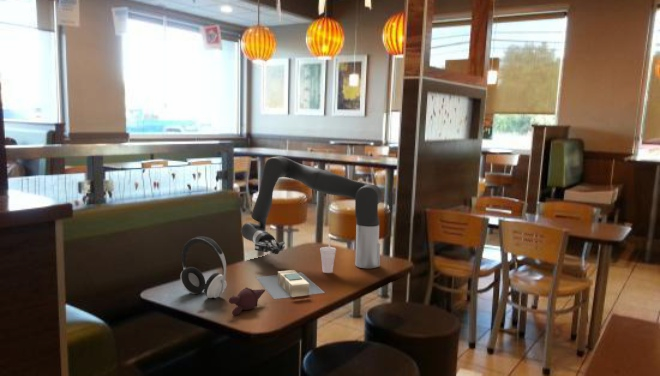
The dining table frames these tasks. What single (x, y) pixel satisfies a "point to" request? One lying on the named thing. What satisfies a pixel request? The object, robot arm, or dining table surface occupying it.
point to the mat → (279, 292)
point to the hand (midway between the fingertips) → (276, 251)
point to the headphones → (195, 279)
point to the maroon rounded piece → (245, 300)
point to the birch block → (293, 283)
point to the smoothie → (327, 258)
